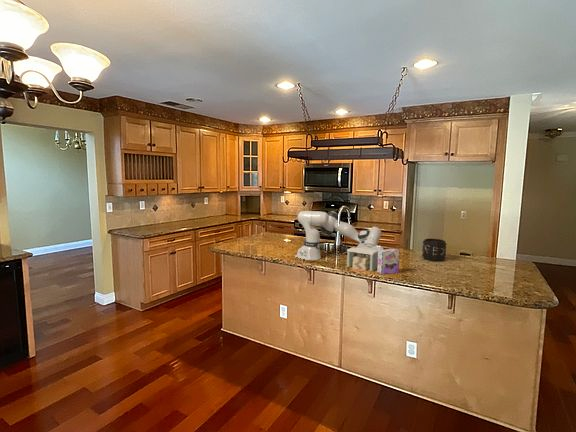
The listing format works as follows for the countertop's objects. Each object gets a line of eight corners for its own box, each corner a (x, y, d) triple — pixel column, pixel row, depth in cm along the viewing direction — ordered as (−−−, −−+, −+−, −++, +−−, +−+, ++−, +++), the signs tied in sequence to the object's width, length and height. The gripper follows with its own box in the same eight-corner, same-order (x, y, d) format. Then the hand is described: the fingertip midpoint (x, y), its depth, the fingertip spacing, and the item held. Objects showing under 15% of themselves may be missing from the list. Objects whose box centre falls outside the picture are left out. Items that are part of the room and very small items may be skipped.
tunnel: (346, 266, 254) (347, 249, 252) (352, 263, 262) (353, 247, 260) (372, 271, 242) (372, 253, 241) (377, 268, 250) (378, 250, 249)
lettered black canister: (420, 260, 273) (421, 241, 271) (422, 255, 289) (423, 237, 287) (444, 263, 265) (446, 243, 263) (446, 258, 281) (447, 239, 279)
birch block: (352, 268, 251) (352, 257, 250) (358, 265, 259) (358, 254, 258) (365, 270, 245) (365, 259, 244) (370, 267, 253) (371, 256, 252)
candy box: (381, 274, 235) (382, 251, 233) (376, 272, 241) (377, 249, 239) (398, 273, 239) (399, 250, 237) (394, 270, 244) (395, 248, 242)
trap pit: (350, 269, 248) (350, 268, 248) (351, 268, 250) (351, 267, 250) (363, 271, 242) (363, 271, 242) (364, 270, 244) (364, 270, 244)
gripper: (385, 249, 259) (379, 264, 253) (360, 245, 271) (354, 259, 265) (383, 244, 255) (377, 259, 248) (358, 240, 267) (352, 255, 260)
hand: (365, 259), depth 257 cm, fingers closed
